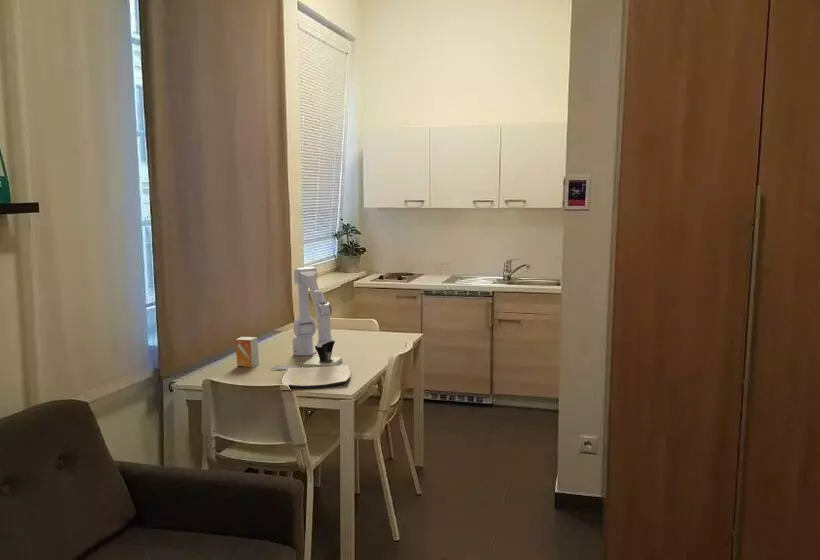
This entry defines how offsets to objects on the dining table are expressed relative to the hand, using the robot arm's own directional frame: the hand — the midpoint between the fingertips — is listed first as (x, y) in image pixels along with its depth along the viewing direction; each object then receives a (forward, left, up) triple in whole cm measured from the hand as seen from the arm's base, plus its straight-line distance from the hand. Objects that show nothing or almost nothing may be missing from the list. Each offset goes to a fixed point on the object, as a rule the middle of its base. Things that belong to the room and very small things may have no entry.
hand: (325, 359), depth 311 cm
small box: (-37, -4, -3) cm, 37 cm away
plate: (+4, -22, -4) cm, 23 cm away
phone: (-16, -7, -4) cm, 18 cm away
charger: (0, 0, -3) cm, 3 cm away
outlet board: (-2, +1, -3) cm, 4 cm away
